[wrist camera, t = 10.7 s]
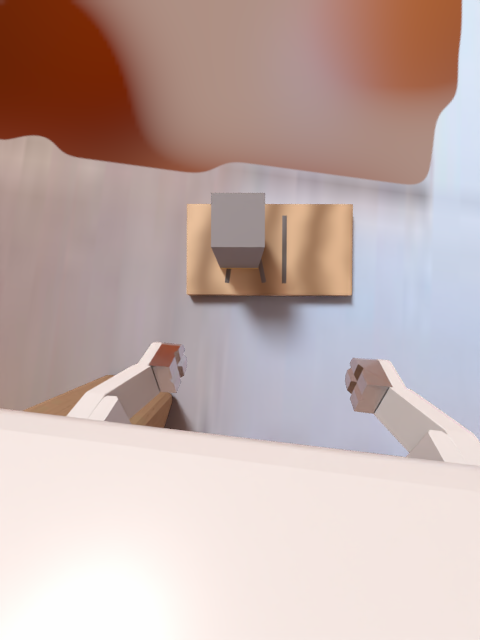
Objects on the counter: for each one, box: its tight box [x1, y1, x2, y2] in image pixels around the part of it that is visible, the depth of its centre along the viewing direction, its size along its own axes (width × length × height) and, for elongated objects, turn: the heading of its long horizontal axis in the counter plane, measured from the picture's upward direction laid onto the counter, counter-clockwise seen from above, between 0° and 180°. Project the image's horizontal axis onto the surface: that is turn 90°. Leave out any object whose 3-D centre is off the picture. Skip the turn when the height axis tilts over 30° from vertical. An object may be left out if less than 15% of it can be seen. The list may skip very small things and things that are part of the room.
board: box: [187, 204, 353, 296], centre depth 30 cm, size 22×12×2 cm, turn 90°
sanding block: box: [211, 193, 265, 269], centre depth 25 cm, size 5×5×9 cm
